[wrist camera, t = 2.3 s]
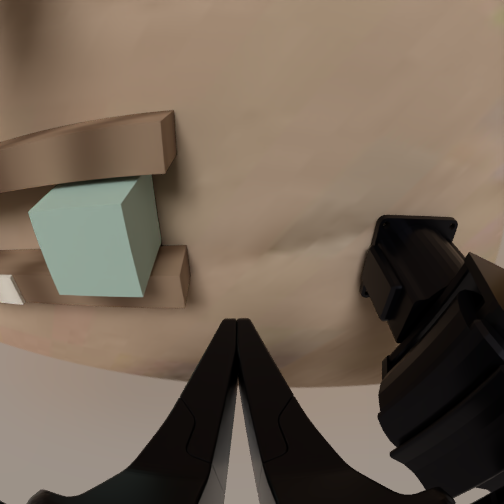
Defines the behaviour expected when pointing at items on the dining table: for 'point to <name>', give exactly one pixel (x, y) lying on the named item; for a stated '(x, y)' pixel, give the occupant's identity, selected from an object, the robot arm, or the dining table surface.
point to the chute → (89, 168)
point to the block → (99, 235)
